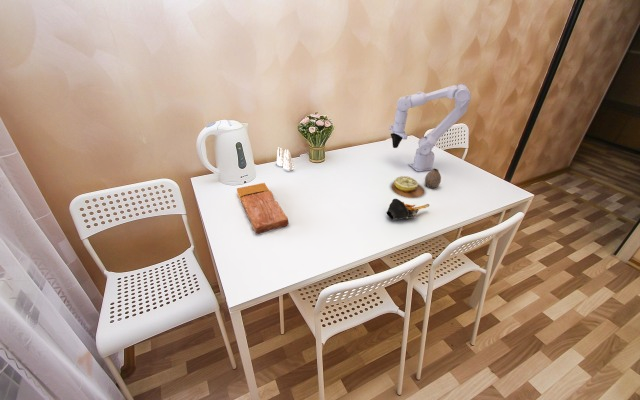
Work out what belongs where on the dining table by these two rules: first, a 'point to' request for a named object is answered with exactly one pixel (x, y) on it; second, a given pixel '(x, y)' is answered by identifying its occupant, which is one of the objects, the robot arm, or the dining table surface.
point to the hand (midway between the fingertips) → (395, 147)
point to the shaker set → (284, 159)
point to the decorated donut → (405, 183)
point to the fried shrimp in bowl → (402, 210)
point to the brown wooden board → (261, 208)
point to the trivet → (411, 194)
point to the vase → (433, 178)
